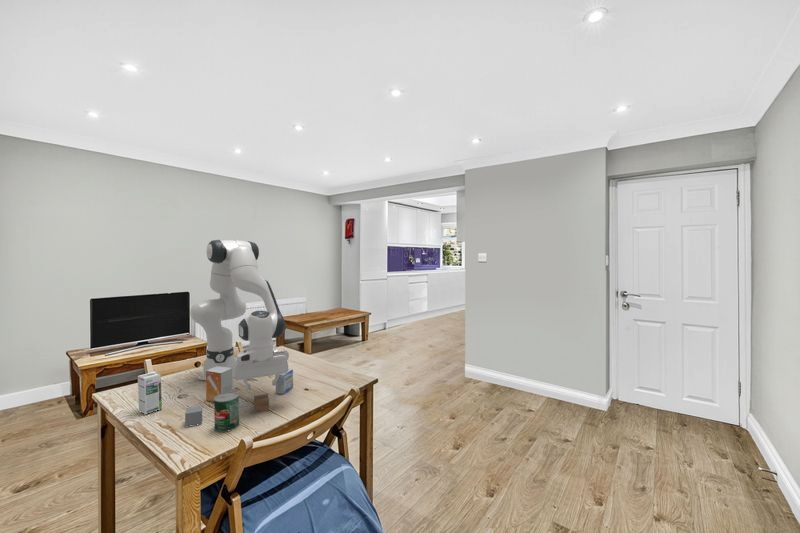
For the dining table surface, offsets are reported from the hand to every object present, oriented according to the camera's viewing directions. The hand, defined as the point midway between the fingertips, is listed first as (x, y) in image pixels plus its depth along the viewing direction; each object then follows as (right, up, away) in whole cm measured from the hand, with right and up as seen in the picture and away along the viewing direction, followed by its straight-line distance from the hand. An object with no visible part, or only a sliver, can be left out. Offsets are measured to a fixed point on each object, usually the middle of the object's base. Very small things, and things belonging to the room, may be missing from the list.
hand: (261, 387), depth 137 cm
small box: (-21, -9, +9) cm, 25 cm away
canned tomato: (-7, -10, -13) cm, 18 cm away
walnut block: (0, -9, +1) cm, 9 cm away
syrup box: (-43, -9, -2) cm, 44 cm away
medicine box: (+3, -8, +19) cm, 21 cm away
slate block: (-20, -9, -11) cm, 25 cm away
